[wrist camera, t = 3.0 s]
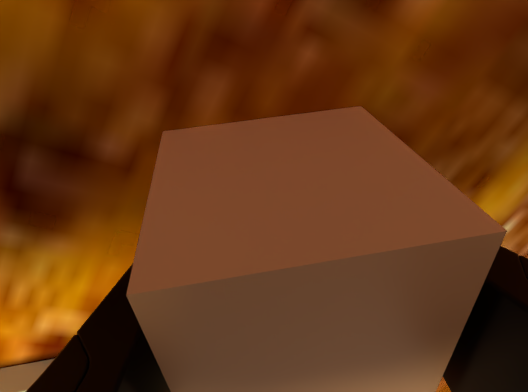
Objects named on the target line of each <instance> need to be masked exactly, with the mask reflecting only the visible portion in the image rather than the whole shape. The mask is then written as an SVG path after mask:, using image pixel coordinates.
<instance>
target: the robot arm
mask: <svg viewBox="0 0 528 392" xmlns="http://www.w3.org/2000/svg"><path fill="white" fill-rule="evenodd" d="M132 267H133V264H132V265H131V266H130V268H129V269H128V270H127V271H126V272H125V274H124V275H123V276H122V277H121V279H120V280H119V281H118V282H117V283H116V285H115V286H114V287H113V288H112V290H111V291H110V292H109V293H108V295H107V296H106V297H105V298H104V299H103V301H102V302H101V303H100V304H99V306H98V307H97V308H96V309H95V310H94V312H93V313H92V314H91V315H90V317H89V318H88V319H87V320H86V322H85V323H84V324H83V325H82V326H81V328H80V329H79V330H78V331H77V335H74V336H73V337H72V338H71V340H70V341H69V342H68V343H67V345H66V346H65V347H64V348H63V349H62V351H61V352H60V353H59V354H58V355H57V357H56V358H55V359H54V360H53V361H52V362H51V364H50V365H49V366H48V367H47V368H46V369H45V371H44V372H43V373H42V374H41V375H40V376H39V377H38V379H37V380H36V381H35V382H34V383H33V384H32V385H31V386H30V387H29V388H28V389H27V390H26V392H171V391H170V389H169V387H168V385H167V382H166V380H165V378H164V376H163V374H162V372H161V369H160V367H159V365H158V363H157V361H156V359H155V357H154V354H153V352H152V350H151V348H150V346H149V344H148V341H147V339H146V337H145V335H144V333H143V331H142V328H141V326H140V324H139V322H138V320H137V318H136V315H135V313H134V311H133V309H132V307H131V305H130V303H129V300H128V298H127V296H126V294H127V289H128V285H129V280H130V276H131V271H132ZM443 377H444V379H445V381H446V383H447V385H448V386H449V388H450V390H451V392H528V258H525V257H523V256H518V254H517V253H514V252H512V251H510V250H508V249H506V248H504V247H501V246H500V247H499V250H498V252H497V254H496V256H495V259H494V261H493V263H492V265H491V268H490V270H489V272H488V274H487V277H486V279H485V281H484V283H483V286H482V288H481V290H480V292H479V295H478V297H477V299H476V301H475V304H474V306H473V308H472V311H471V313H470V315H469V317H468V320H467V322H466V324H465V326H464V329H463V331H462V333H461V335H460V338H459V340H458V342H457V344H456V347H455V349H454V351H453V353H452V356H451V358H450V360H449V362H448V365H447V367H446V369H445V371H444V374H443Z"/></svg>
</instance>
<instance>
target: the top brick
mask: <svg viewBox="0 0 528 392" xmlns="http://www.w3.org/2000/svg"><path fill="white" fill-rule="evenodd" d="M506 232H507V231H506V230H505V229H504V228H503V227H502V226H501V225H499V224H498V223H497V222H496V221H495V220H494V219H492V218H491V217H490V216H489V215H488V214H487V213H485V212H484V211H483V210H482V209H481V208H480V207H478V206H477V205H476V204H475V203H474V202H473V201H471V200H470V199H469V198H468V197H467V196H466V195H464V194H463V193H462V192H461V191H460V190H459V189H457V188H456V187H455V186H454V185H453V184H452V183H450V182H449V181H448V180H447V179H446V178H445V177H443V176H442V175H441V174H440V173H439V172H438V171H436V170H435V169H434V168H433V167H432V166H431V165H429V164H428V163H427V162H426V161H425V160H424V159H422V158H421V157H420V156H419V155H418V154H417V153H415V152H414V151H413V150H412V149H411V148H410V147H408V146H407V145H406V144H405V143H404V142H403V141H401V140H400V139H399V138H398V137H397V136H396V135H394V134H393V133H392V132H391V131H390V130H389V129H387V128H386V127H385V126H384V125H383V124H382V123H380V122H379V121H378V120H377V119H376V118H375V117H373V116H372V115H371V114H370V113H369V112H367V111H366V110H365V109H364V108H363V107H362V106H357V107H349V108H341V109H333V110H325V111H318V112H310V113H302V114H294V115H286V116H279V117H271V118H263V119H255V120H247V121H239V122H232V123H224V124H216V125H208V126H200V127H193V128H185V129H177V130H169V131H163V133H162V137H161V142H160V146H159V151H158V155H157V159H156V164H155V168H154V173H153V177H152V182H151V186H150V191H149V195H148V200H147V204H146V209H145V213H144V218H143V222H142V227H141V231H140V235H139V240H138V244H137V249H136V253H135V258H134V262H133V267H132V271H131V276H130V280H129V285H128V289H127V294H126V296H127V298H128V300H129V303H130V305H131V307H132V309H133V311H134V313H135V315H136V318H137V320H138V322H139V324H140V326H141V328H142V331H143V333H144V335H145V337H146V339H147V341H148V344H149V346H150V348H151V350H152V352H153V354H154V357H155V359H156V361H157V363H158V365H159V367H160V369H161V372H162V374H163V376H164V378H165V380H166V382H167V385H168V387H169V389H170V391H171V392H436V389H437V387H438V385H439V383H440V380H441V378H442V376H443V374H444V371H445V369H446V367H447V365H448V362H449V360H450V358H451V356H452V353H453V351H454V349H455V347H456V344H457V342H458V340H459V338H460V335H461V333H462V331H463V329H464V326H465V324H466V322H467V320H468V317H469V315H470V313H471V311H472V308H473V306H474V304H475V301H476V299H477V297H478V295H479V292H480V290H481V288H482V286H483V283H484V281H485V279H486V277H487V274H488V272H489V270H490V268H491V265H492V263H493V261H494V259H495V256H496V254H497V252H498V250H499V247H500V245H501V243H502V241H503V238H504V236H505V234H506Z"/></svg>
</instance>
